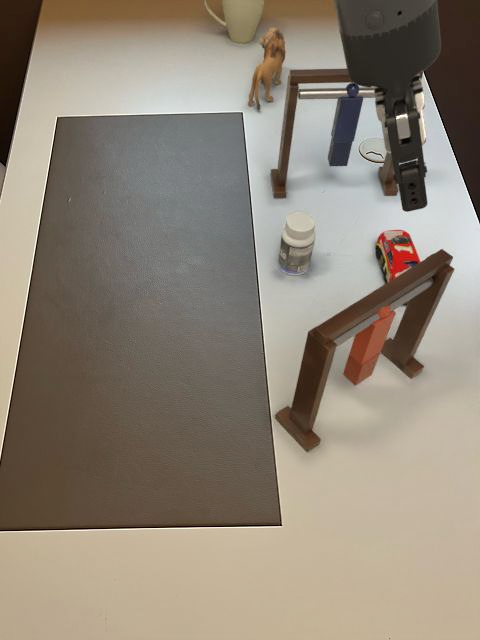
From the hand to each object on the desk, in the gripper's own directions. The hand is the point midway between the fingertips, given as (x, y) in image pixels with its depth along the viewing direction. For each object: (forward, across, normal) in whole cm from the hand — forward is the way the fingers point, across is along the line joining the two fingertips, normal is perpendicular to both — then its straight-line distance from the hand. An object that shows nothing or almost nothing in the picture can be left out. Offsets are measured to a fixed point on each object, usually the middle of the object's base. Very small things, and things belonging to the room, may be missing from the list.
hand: (411, 182), depth 60 cm
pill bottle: (+21, +18, +18) cm, 33 cm away
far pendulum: (+17, +37, +10) cm, 42 cm away
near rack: (+26, -4, +11) cm, 28 cm away
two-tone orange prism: (+22, -4, +9) cm, 24 cm away
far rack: (+21, +37, +12) cm, 44 cm away
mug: (+9, +82, +30) cm, 88 cm away
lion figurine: (+14, +64, +24) cm, 69 cm away
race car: (+26, +18, +4) cm, 32 cm away
